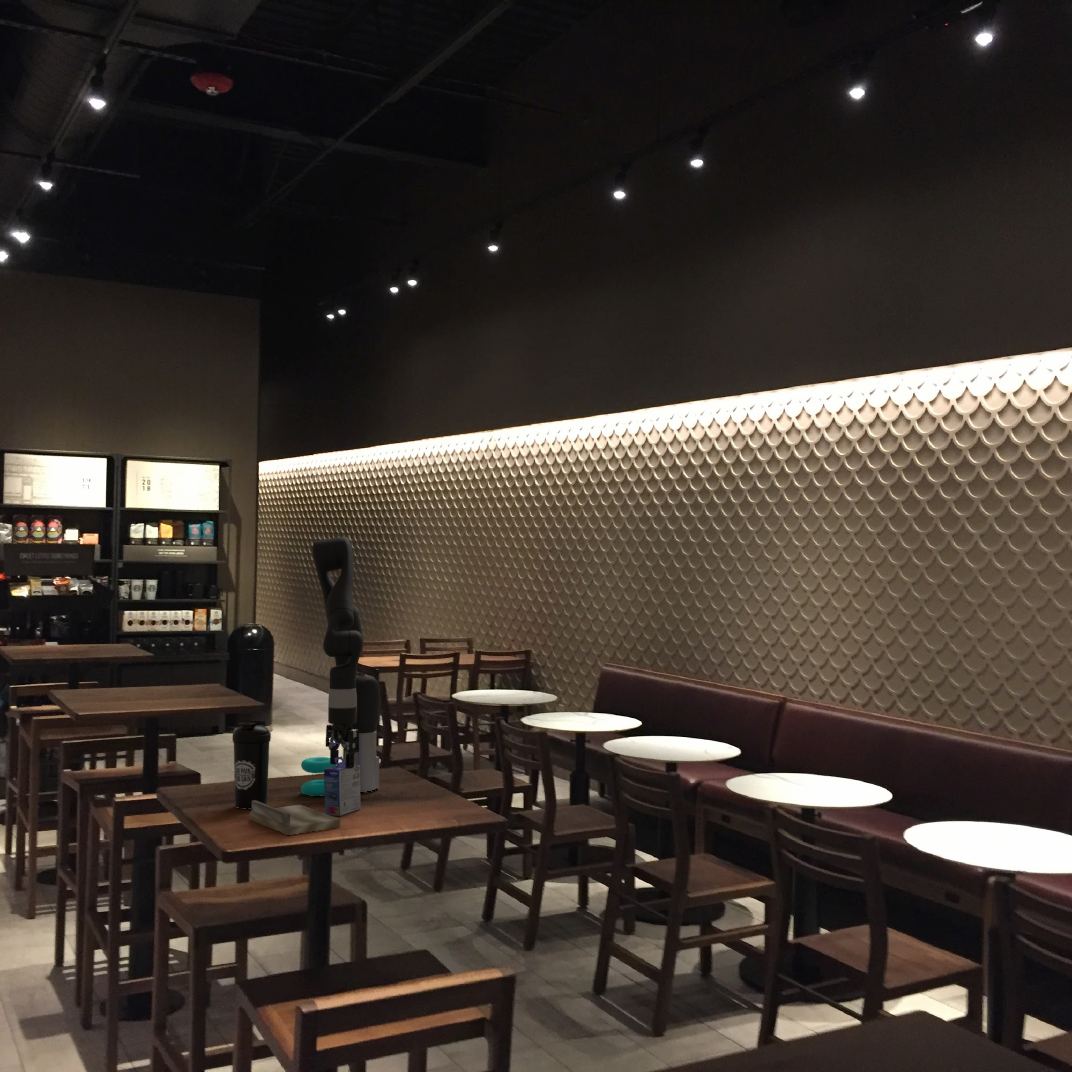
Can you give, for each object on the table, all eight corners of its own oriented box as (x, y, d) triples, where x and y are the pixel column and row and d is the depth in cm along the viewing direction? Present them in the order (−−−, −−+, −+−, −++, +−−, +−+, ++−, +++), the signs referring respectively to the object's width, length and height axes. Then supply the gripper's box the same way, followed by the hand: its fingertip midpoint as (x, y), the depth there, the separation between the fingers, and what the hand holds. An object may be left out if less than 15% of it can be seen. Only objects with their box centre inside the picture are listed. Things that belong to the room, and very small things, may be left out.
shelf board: (299, 812, 286) (299, 793, 286) (339, 827, 268) (339, 807, 269) (248, 819, 277) (249, 800, 277) (287, 836, 259) (287, 815, 260)
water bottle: (224, 808, 289) (225, 723, 290) (245, 801, 299) (246, 718, 300) (257, 811, 286) (258, 724, 287) (277, 803, 296) (278, 719, 297)
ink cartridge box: (344, 807, 291) (344, 753, 292) (361, 809, 289) (361, 755, 290) (322, 814, 282) (323, 759, 283) (340, 816, 280) (340, 761, 281)
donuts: (340, 760, 307) (305, 763, 303) (339, 795, 307) (305, 798, 302) (331, 755, 316) (297, 757, 312) (331, 789, 316) (297, 792, 311)
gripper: (368, 706, 284) (367, 768, 283) (342, 701, 295) (341, 761, 294) (342, 708, 279) (342, 771, 278) (317, 703, 290) (316, 764, 289)
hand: (341, 766), depth 286 cm, fingers open, 8 cm apart
